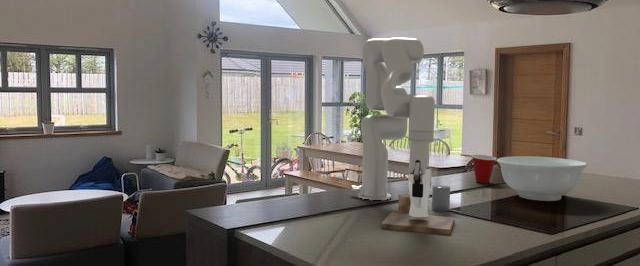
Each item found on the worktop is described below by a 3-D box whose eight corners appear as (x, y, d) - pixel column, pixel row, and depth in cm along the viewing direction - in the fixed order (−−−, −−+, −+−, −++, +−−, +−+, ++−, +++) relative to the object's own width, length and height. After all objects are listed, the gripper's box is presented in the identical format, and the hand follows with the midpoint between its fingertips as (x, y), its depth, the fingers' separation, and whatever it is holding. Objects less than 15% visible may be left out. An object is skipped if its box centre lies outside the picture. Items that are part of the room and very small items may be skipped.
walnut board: (381, 228, 167) (381, 223, 167) (391, 216, 182) (391, 212, 182) (449, 234, 161) (449, 229, 161) (454, 222, 176) (454, 217, 176)
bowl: (498, 187, 240) (500, 153, 239) (582, 193, 228) (584, 158, 227) (492, 201, 210) (494, 162, 209) (588, 209, 198) (590, 168, 197)
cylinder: (430, 210, 192) (431, 187, 192) (432, 207, 198) (433, 184, 197) (448, 212, 191) (449, 189, 190) (450, 208, 196) (450, 186, 196)
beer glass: (430, 219, 168) (431, 169, 166) (406, 218, 169) (408, 168, 168) (430, 214, 174) (432, 166, 173) (407, 212, 176) (409, 165, 175)
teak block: (400, 215, 185) (401, 197, 185) (398, 211, 190) (398, 194, 190) (415, 215, 186) (416, 197, 185) (412, 212, 190) (413, 194, 190)
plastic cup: (488, 185, 245) (489, 158, 244) (466, 182, 252) (467, 155, 251) (500, 182, 252) (501, 156, 251) (477, 179, 260) (478, 153, 259)
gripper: (412, 133, 179) (411, 189, 181) (403, 138, 163) (402, 199, 164) (436, 134, 177) (435, 190, 178) (429, 139, 160) (428, 201, 162)
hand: (419, 194), depth 171 cm, fingers closed on beer glass, 6 cm apart
